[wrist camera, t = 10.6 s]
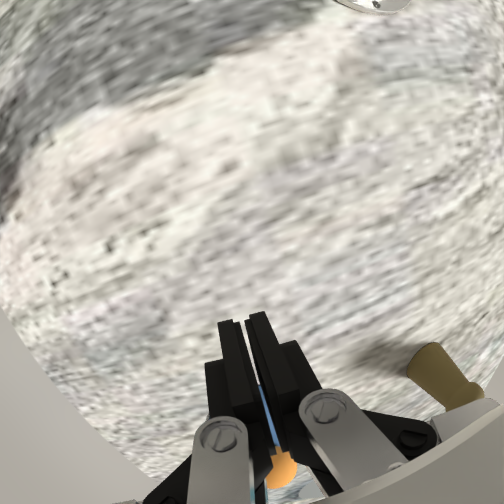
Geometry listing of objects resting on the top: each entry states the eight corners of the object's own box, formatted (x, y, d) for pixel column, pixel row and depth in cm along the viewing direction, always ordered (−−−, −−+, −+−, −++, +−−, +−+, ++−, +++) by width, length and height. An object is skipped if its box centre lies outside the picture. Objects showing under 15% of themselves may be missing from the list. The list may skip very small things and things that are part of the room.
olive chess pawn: (403, 385, 34) (447, 438, 23) (411, 351, 32) (464, 406, 21) (435, 369, 34) (480, 415, 24) (445, 336, 32) (498, 382, 22)
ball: (253, 484, 31) (242, 447, 33) (297, 474, 32) (287, 436, 34) (255, 499, 26) (242, 457, 28) (306, 486, 26) (294, 445, 29)
